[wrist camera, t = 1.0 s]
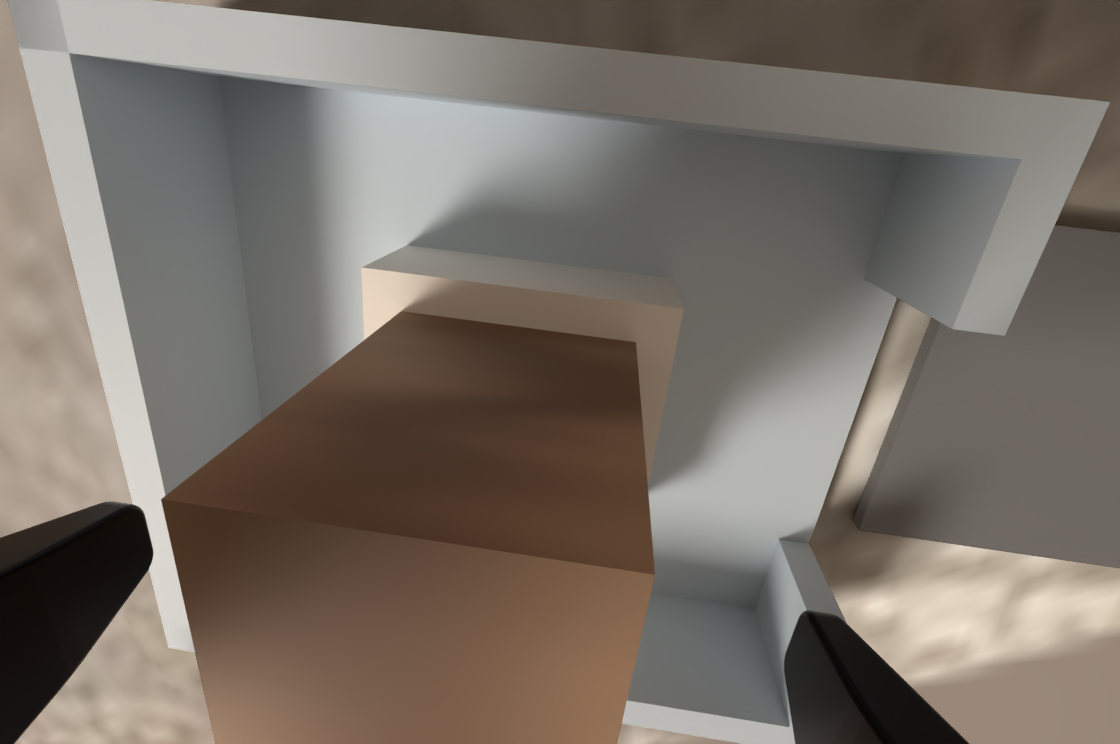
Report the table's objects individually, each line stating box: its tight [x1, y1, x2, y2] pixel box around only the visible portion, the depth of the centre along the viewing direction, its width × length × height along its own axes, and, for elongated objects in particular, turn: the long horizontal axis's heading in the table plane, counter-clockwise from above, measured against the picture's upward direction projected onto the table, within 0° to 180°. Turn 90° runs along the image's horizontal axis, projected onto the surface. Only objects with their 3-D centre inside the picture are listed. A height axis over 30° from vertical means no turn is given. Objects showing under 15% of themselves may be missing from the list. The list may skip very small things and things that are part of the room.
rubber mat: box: [853, 224, 1120, 568], centre depth 13 cm, size 8×8×1 cm
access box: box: [8, 0, 1110, 744], centre depth 12 cm, size 16×14×4 cm
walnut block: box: [161, 311, 655, 744], centre depth 9 cm, size 4×4×6 cm
